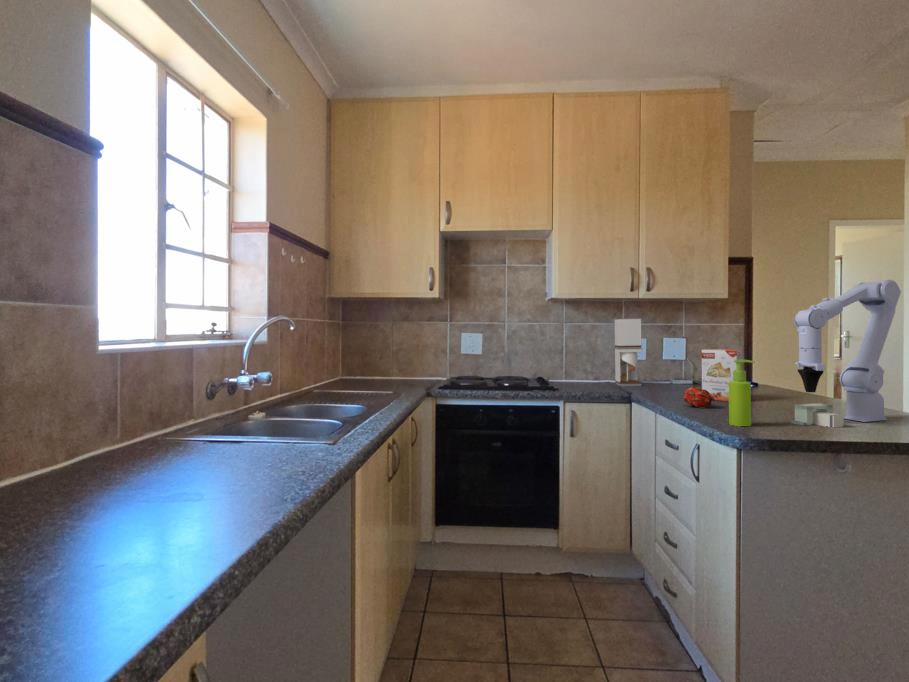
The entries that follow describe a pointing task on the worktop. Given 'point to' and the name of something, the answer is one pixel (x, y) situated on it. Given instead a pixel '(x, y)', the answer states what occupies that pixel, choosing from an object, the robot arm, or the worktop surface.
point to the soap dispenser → (740, 397)
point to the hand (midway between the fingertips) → (810, 392)
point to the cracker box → (719, 371)
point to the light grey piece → (627, 351)
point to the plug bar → (827, 419)
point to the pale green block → (809, 412)
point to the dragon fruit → (697, 397)
